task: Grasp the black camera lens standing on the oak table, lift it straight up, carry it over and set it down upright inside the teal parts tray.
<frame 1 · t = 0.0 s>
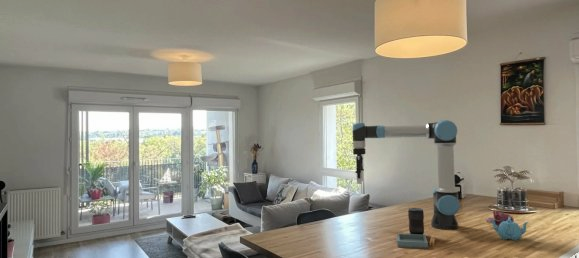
hand: (360, 182, 217), 28 cm above the table, fingers open, 13 cm apart
fuse puller tool: (432, 242, 184), on the table
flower: (500, 228, 209), on the table
tray: (411, 243, 183), on the table
camera lens: (416, 236, 196), on the table
teapot: (509, 239, 187), on the table
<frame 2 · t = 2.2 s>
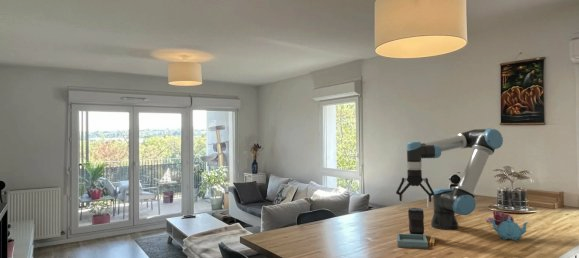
hand: (415, 207, 197), 16 cm above the table, fingers open, 13 cm apart
nothing on the table moved.
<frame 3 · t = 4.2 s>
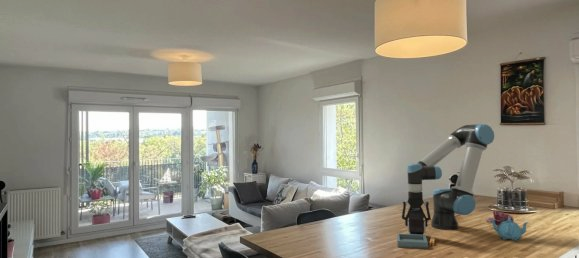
hand: (416, 232, 196), 2 cm above the table, fingers closed on camera lens, 8 cm apart
camera lens: (416, 236, 196), on the table, touching gripper
everything else where it was.
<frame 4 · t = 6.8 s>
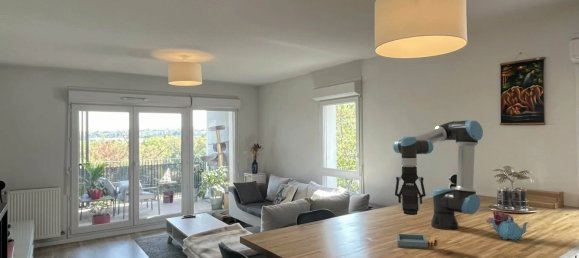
hand: (410, 209, 183), 18 cm above the table, fingers closed on camera lens, 8 cm apart
camera lens: (410, 214, 183), point 15 cm above the table, touching gripper
everything else where it was.
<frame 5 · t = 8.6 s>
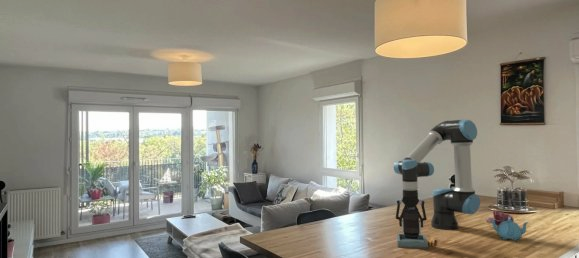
hand: (411, 233, 183), 5 cm above the table, fingers closed on camera lens, 8 cm apart
camera lens: (411, 237, 183), point 3 cm above the table, touching gripper
everything else where it was.
when the fingers open (5 cm above the table, at t = 9.6 s): camera lens drops 2 cm, resting on tray.
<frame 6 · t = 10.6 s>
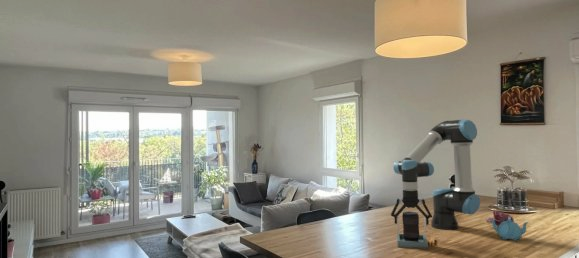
hand: (411, 230, 183), 7 cm above the table, fingers open, 13 cm apart
camera lens: (411, 242, 183), point 1 cm above the table, touching tray
everything else where it was.
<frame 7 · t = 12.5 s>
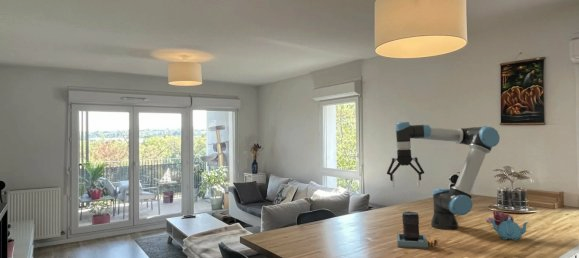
hand: (405, 186, 200), 27 cm above the table, fingers open, 13 cm apart
nothing on the table moved.
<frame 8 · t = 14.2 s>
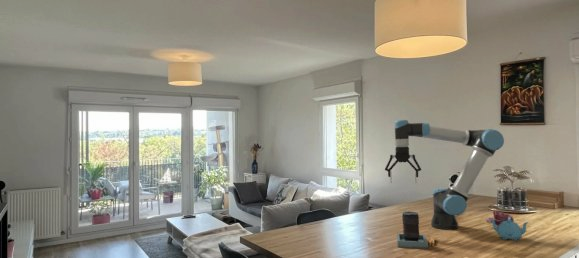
hand: (403, 182, 205), 29 cm above the table, fingers open, 13 cm apart
nothing on the table moved.
at the end: camera lens inside the target area on the tray (0.2 cm from its centre), point 0.6 cm above the tray's base; camera lens tilted 0°; the gripper is holding nothing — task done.
